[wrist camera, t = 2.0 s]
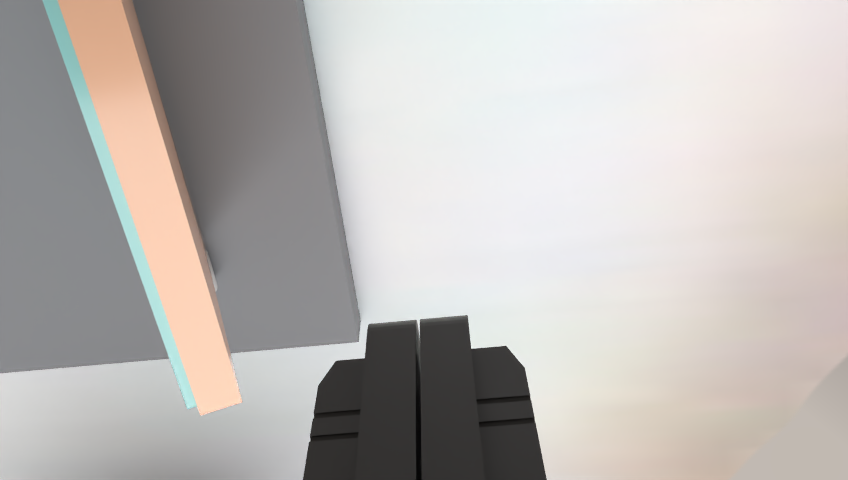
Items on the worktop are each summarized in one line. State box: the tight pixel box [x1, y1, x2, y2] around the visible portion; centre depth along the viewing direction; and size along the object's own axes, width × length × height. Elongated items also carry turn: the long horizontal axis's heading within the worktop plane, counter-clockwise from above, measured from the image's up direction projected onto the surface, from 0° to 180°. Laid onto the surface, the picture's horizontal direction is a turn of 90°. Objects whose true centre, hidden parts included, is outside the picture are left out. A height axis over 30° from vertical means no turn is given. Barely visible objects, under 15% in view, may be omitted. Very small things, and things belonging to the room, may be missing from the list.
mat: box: [0, 0, 361, 373], centre depth 27 cm, size 26×18×3 cm
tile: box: [42, 0, 242, 416], centre depth 22 cm, size 14×10×2 cm
